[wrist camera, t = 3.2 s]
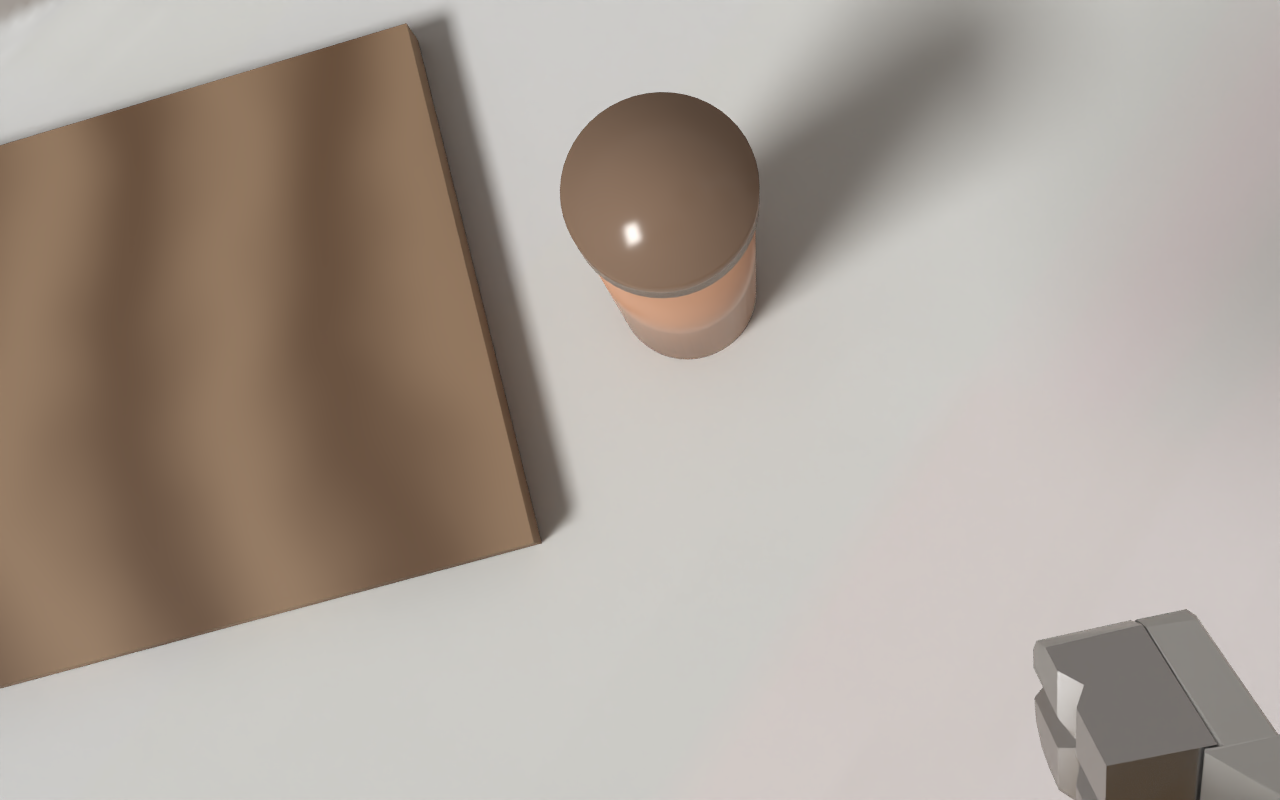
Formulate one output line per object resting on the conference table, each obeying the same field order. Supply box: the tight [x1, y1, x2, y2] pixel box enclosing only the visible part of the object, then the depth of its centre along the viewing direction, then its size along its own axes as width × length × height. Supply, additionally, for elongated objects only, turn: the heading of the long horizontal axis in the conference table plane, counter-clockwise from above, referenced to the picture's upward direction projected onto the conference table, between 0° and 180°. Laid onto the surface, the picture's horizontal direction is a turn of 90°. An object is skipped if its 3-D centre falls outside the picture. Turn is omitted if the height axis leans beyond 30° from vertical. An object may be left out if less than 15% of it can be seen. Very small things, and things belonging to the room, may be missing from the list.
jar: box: [560, 92, 759, 359], centre depth 30 cm, size 4×4×10 cm
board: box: [0, 24, 542, 688], centre depth 35 cm, size 20×16×1 cm
